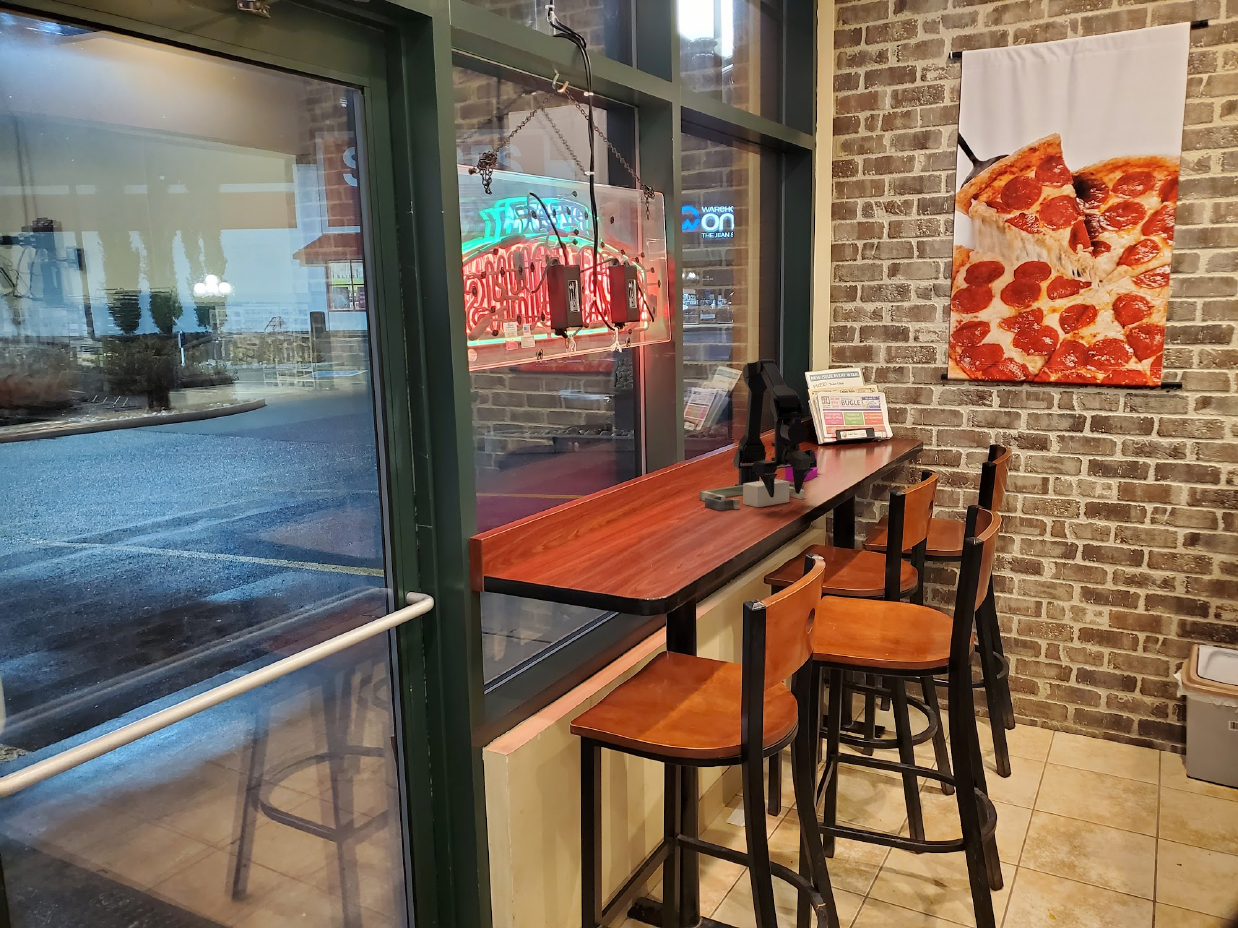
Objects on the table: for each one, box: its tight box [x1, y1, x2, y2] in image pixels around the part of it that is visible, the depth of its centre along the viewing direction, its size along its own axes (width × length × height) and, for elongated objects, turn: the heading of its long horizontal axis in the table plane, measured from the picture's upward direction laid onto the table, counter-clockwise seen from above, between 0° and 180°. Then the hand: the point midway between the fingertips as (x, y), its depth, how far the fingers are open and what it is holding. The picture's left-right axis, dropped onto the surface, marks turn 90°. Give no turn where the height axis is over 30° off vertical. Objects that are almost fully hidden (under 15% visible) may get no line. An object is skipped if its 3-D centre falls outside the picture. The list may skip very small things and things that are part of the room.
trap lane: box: [698, 482, 806, 511], centre depth 270 cm, size 17×34×2 cm, turn 121°
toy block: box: [784, 452, 819, 482], centre depth 302 cm, size 15×6×8 cm, turn 143°
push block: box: [742, 478, 790, 508], centre depth 264 cm, size 6×12×6 cm, turn 124°
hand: (784, 495), depth 257 cm, fingers open, 9 cm apart
